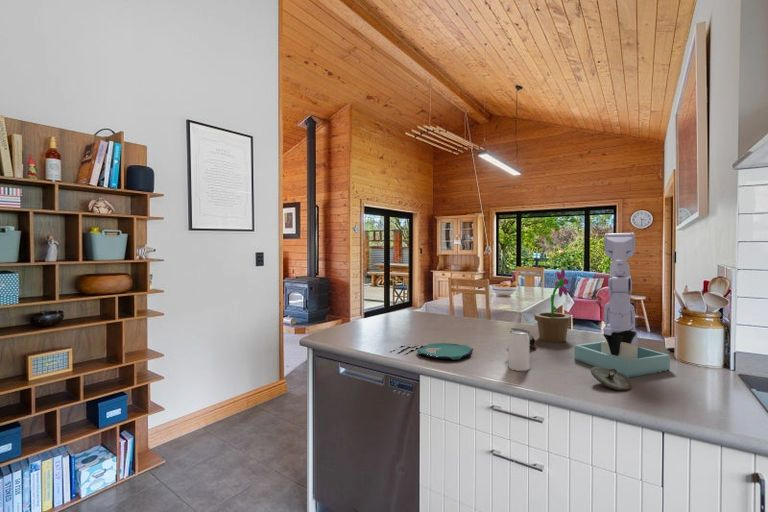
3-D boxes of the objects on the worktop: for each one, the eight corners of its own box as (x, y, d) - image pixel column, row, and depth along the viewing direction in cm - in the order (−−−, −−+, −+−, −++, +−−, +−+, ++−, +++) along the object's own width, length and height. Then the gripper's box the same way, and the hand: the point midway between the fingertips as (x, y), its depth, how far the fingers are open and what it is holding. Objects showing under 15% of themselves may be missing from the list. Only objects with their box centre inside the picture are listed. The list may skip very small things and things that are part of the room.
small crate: (609, 353, 133) (609, 339, 133) (637, 360, 125) (637, 345, 125) (601, 355, 130) (601, 341, 130) (628, 362, 123) (628, 347, 122)
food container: (535, 365, 128) (535, 336, 128) (515, 365, 129) (515, 335, 129) (528, 355, 140) (528, 328, 140) (511, 354, 141) (511, 327, 141)
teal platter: (461, 365, 130) (460, 358, 130) (386, 354, 146) (385, 348, 146) (480, 351, 147) (479, 345, 147) (411, 343, 163) (410, 338, 163)
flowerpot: (577, 343, 155) (577, 269, 154) (542, 343, 155) (542, 269, 154) (561, 334, 169) (561, 266, 168) (529, 335, 169) (528, 267, 168)
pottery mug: (538, 353, 144) (527, 334, 144) (515, 361, 148) (504, 343, 148) (539, 337, 155) (528, 320, 154) (517, 345, 159) (507, 329, 159)
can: (519, 373, 121) (519, 335, 121) (504, 367, 127) (503, 331, 127) (533, 369, 124) (533, 332, 124) (518, 364, 130) (518, 329, 130)
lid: (602, 376, 117) (602, 360, 117) (638, 386, 109) (638, 368, 109) (583, 384, 111) (583, 367, 111) (619, 394, 103) (619, 376, 103)
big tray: (613, 353, 140) (613, 340, 140) (669, 370, 121) (669, 355, 121) (574, 359, 134) (574, 345, 134) (626, 378, 115) (626, 361, 115)
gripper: (620, 309, 134) (620, 347, 134) (594, 313, 127) (594, 354, 127) (641, 312, 128) (641, 352, 128) (616, 316, 121) (616, 359, 121)
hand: (619, 353), depth 127 cm, fingers closed on small crate, 5 cm apart
